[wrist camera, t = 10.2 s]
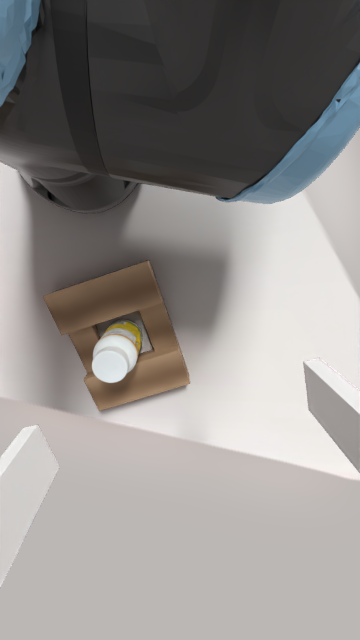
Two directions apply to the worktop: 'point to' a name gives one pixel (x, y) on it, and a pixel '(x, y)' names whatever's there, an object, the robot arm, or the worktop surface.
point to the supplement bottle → (117, 351)
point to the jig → (111, 302)
